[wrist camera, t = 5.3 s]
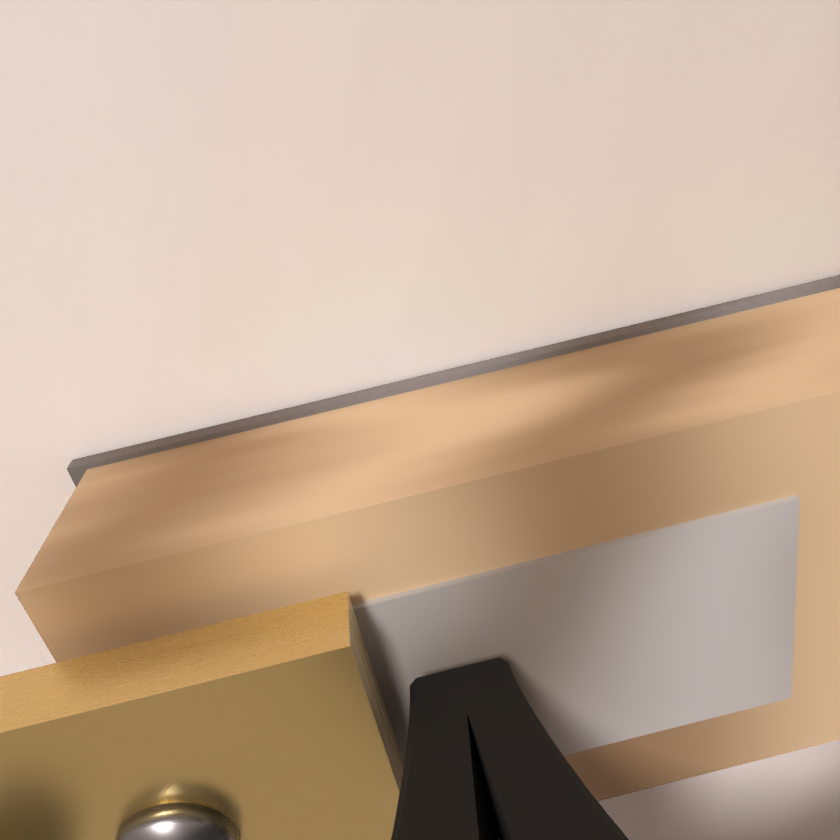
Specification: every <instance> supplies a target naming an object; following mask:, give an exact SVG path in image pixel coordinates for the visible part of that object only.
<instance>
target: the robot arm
mask: <svg viewBox="0 0 840 840" xmlns="http://www.w3.org/2000/svg"><path fill="white" fill-rule="evenodd" d="M391 840H629V839H628V838H627V837H626V836H625V835H624V833H623V832H622V831H621V830H620V829H619V827H618V826H617V825H616V824H615V823H614V821H613V820H612V819H611V818H610V816H609V815H608V814H607V813H606V812H605V810H604V809H603V808H602V806H601V805H600V804H599V803H598V801H597V800H596V799H595V798H594V796H593V795H592V794H591V792H590V791H589V790H588V788H587V787H586V786H585V784H584V783H583V782H582V780H581V779H580V778H579V776H578V775H577V774H576V772H575V771H574V770H573V768H572V767H571V765H570V764H569V763H568V761H567V760H566V759H565V757H564V756H563V755H562V753H561V752H560V750H559V749H558V748H557V746H556V745H555V743H554V742H553V740H552V739H551V737H550V736H549V734H548V733H547V731H546V730H545V728H544V727H543V725H542V724H541V722H540V720H539V719H538V717H537V716H536V714H535V713H534V711H533V709H532V708H531V706H530V704H529V703H528V701H527V699H526V698H525V696H524V694H523V692H522V691H521V689H520V687H519V685H518V683H517V681H516V679H515V677H514V675H513V673H512V671H511V669H510V666H509V664H508V662H507V661H505V660H503V659H501V658H499V657H498V658H494V659H490V660H486V661H482V662H478V663H474V664H470V665H466V666H462V667H458V668H454V669H450V670H446V671H442V672H438V673H434V674H430V675H426V676H422V677H418V678H415V680H414V681H413V682H412V683H411V685H410V711H409V727H408V738H407V747H406V754H405V762H404V770H403V776H402V782H401V788H400V793H399V799H398V805H397V811H396V816H395V822H394V828H393V832H392V837H391Z"/></svg>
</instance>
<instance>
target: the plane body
mask: <svg viewBox="0 0 840 840" xmlns="http://www.w3.org/2000/svg"><path fill="white" fill-rule="evenodd" d="M67 470H68V472H69V474H70V476H71V478H72V480H73V482H74V484H75V486H76V489H75V491H74V492H73V494H72V496H71V498H70V499H69V501H68V503H67V504H66V506H65V508H64V510H63V511H62V513H61V515H60V516H59V518H58V520H57V521H56V523H55V525H54V527H53V528H52V530H51V532H50V533H49V535H48V537H47V539H46V540H45V542H44V544H43V545H42V547H41V549H40V551H39V552H38V554H37V556H36V557H35V559H34V561H33V563H32V564H31V566H30V568H29V569H28V571H27V573H26V574H25V576H24V578H23V580H22V581H21V583H20V585H19V586H18V588H17V590H16V592H15V594H16V595H17V597H18V599H19V600H20V602H21V604H22V605H23V607H24V609H25V610H26V612H27V614H28V615H29V617H30V619H31V620H32V622H33V624H34V625H35V627H36V629H37V631H38V632H39V634H40V636H41V637H42V639H43V641H44V642H45V644H46V646H47V647H48V649H49V651H50V652H51V654H52V656H53V657H54V659H55V661H56V662H57V663H58V662H62V661H66V660H70V659H74V658H78V657H82V656H86V655H90V654H95V653H99V652H103V651H107V650H111V649H115V648H119V647H123V646H127V645H131V644H135V643H139V642H143V641H147V640H151V639H155V638H159V637H163V636H168V635H172V634H176V633H180V632H184V631H188V630H192V629H196V628H200V627H204V626H208V625H212V624H216V623H220V622H224V621H228V620H232V619H237V618H241V617H245V616H249V615H253V614H257V613H261V612H265V611H269V610H273V609H277V608H281V607H285V606H289V605H293V604H297V603H301V602H305V601H310V600H314V599H318V598H322V597H326V596H330V595H334V594H338V593H342V592H346V591H348V595H349V598H350V601H351V604H352V607H353V610H354V613H355V616H356V619H357V622H358V625H359V629H360V632H361V635H362V638H363V641H364V644H365V647H366V650H367V653H368V656H369V659H370V663H371V666H372V669H373V672H374V675H375V678H376V681H377V684H378V687H379V690H380V693H381V696H382V700H383V703H384V706H385V709H386V712H387V715H388V718H389V721H390V724H391V727H392V730H393V734H394V737H395V740H396V743H397V746H398V749H399V752H400V755H401V758H402V761H403V764H404V762H405V754H406V747H407V738H408V727H409V711H410V685H411V683H412V682H413V681H414V680H415V678H418V677H422V676H426V675H430V674H434V673H438V672H442V671H446V670H450V669H454V668H458V667H462V666H466V665H470V664H474V663H478V662H482V661H486V660H490V659H494V658H498V657H499V658H501V659H503V660H505V661H507V662H508V664H509V666H510V669H511V671H512V673H513V675H514V677H515V679H516V681H517V683H518V685H519V687H520V689H521V691H522V692H523V694H524V696H525V698H526V699H527V701H528V703H529V704H530V706H531V708H532V709H533V711H534V713H535V714H536V716H537V717H538V719H539V720H540V722H541V724H542V725H543V727H544V728H545V730H546V731H547V733H548V734H549V736H550V737H551V739H552V740H553V742H554V743H555V745H556V746H557V748H558V749H559V750H560V752H561V753H562V755H563V756H564V757H565V759H566V760H567V761H568V763H569V764H570V765H571V767H572V768H573V770H574V771H575V772H576V774H577V775H578V776H579V778H580V779H581V780H582V782H583V783H584V784H585V786H586V787H587V788H588V790H589V791H590V792H591V794H592V795H593V796H594V798H595V799H596V800H597V801H599V800H603V799H607V798H611V797H615V796H619V795H623V794H627V793H631V792H635V791H639V790H643V789H646V788H650V787H654V786H658V785H662V784H666V783H670V782H674V781H678V780H682V779H686V778H690V777H694V776H698V775H702V774H706V773H709V772H713V771H717V770H721V769H725V768H729V767H733V766H737V765H741V764H745V763H749V762H753V761H757V760H761V759H765V758H768V757H772V756H776V755H780V754H784V753H788V752H792V751H796V750H800V749H804V748H808V747H812V746H816V745H820V744H824V743H828V742H831V741H835V740H839V739H840V275H838V276H834V277H830V278H826V279H822V280H818V281H813V282H809V283H805V284H801V285H797V286H793V287H789V288H784V289H780V290H776V291H772V292H768V293H764V294H760V295H755V296H751V297H747V298H743V299H739V300H735V301H730V302H726V303H722V304H718V305H714V306H710V307H706V308H701V309H697V310H693V311H689V312H685V313H681V314H677V315H672V316H668V317H664V318H660V319H656V320H652V321H647V322H643V323H639V324H635V325H631V326H627V327H623V328H618V329H614V330H610V331H606V332H602V333H598V334H594V335H589V336H585V337H581V338H577V339H573V340H569V341H564V342H560V343H556V344H552V345H548V346H544V347H540V348H535V349H531V350H527V351H523V352H519V353H515V354H511V355H506V356H502V357H498V358H494V359H490V360H486V361H482V362H477V363H473V364H469V365H465V366H461V367H457V368H452V369H448V370H444V371H440V372H436V373H432V374H428V375H423V376H419V377H415V378H411V379H407V380H403V381H399V382H394V383H390V384H386V385H382V386H378V387H374V388H369V389H365V390H361V391H357V392H353V393H349V394H345V395H340V396H336V397H332V398H328V399H324V400H320V401H316V402H311V403H307V404H303V405H299V406H295V407H291V408H286V409H282V410H278V411H274V412H270V413H266V414H262V415H257V416H253V417H249V418H245V419H241V420H237V421H233V422H228V423H224V424H220V425H216V426H212V427H208V428H204V429H199V430H195V431H191V432H187V433H183V434H179V435H174V436H170V437H166V438H162V439H158V440H154V441H150V442H145V443H141V444H137V445H133V446H129V447H125V448H121V449H116V450H112V451H108V452H104V453H100V454H96V455H91V456H87V457H83V458H79V459H75V460H72V462H71V463H70V465H69V466H68V468H67Z"/></svg>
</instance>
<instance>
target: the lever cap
mask: <svg viewBox="0 0 840 840" xmlns="http://www.w3.org/2000/svg"><path fill="white" fill-rule="evenodd" d="M403 770H404V764H403V761H402V758H401V755H400V752H399V749H398V746H397V743H396V740H395V737H394V734H393V730H392V727H391V724H390V721H389V718H388V715H387V712H386V709H385V706H384V703H383V700H382V696H381V693H380V690H379V687H378V684H377V681H376V678H375V675H374V672H373V669H372V666H371V663H370V659H369V656H368V653H367V650H366V647H365V644H364V641H363V638H362V635H361V632H360V629H359V625H358V622H357V619H356V616H355V613H354V610H353V607H352V604H351V601H350V598H349V595H348V591H346V592H342V593H338V594H334V595H330V596H326V597H322V598H318V599H314V600H310V601H305V602H301V603H297V604H293V605H289V606H285V607H281V608H277V609H273V610H269V611H265V612H261V613H257V614H253V615H249V616H245V617H241V618H237V619H232V620H228V621H224V622H220V623H216V624H212V625H208V626H204V627H200V628H196V629H192V630H188V631H184V632H180V633H176V634H172V635H168V636H163V637H159V638H155V639H151V640H147V641H143V642H139V643H135V644H131V645H127V646H123V647H119V648H115V649H111V650H107V651H103V652H99V653H95V654H90V655H86V656H82V657H78V658H74V659H70V660H66V661H62V662H58V663H54V664H50V665H46V666H42V667H38V668H34V669H30V670H26V671H21V672H17V673H13V674H9V675H5V676H1V677H0V840H391V837H392V832H393V828H394V822H395V816H396V811H397V805H398V799H399V793H400V788H401V782H402V776H403Z"/></svg>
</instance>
